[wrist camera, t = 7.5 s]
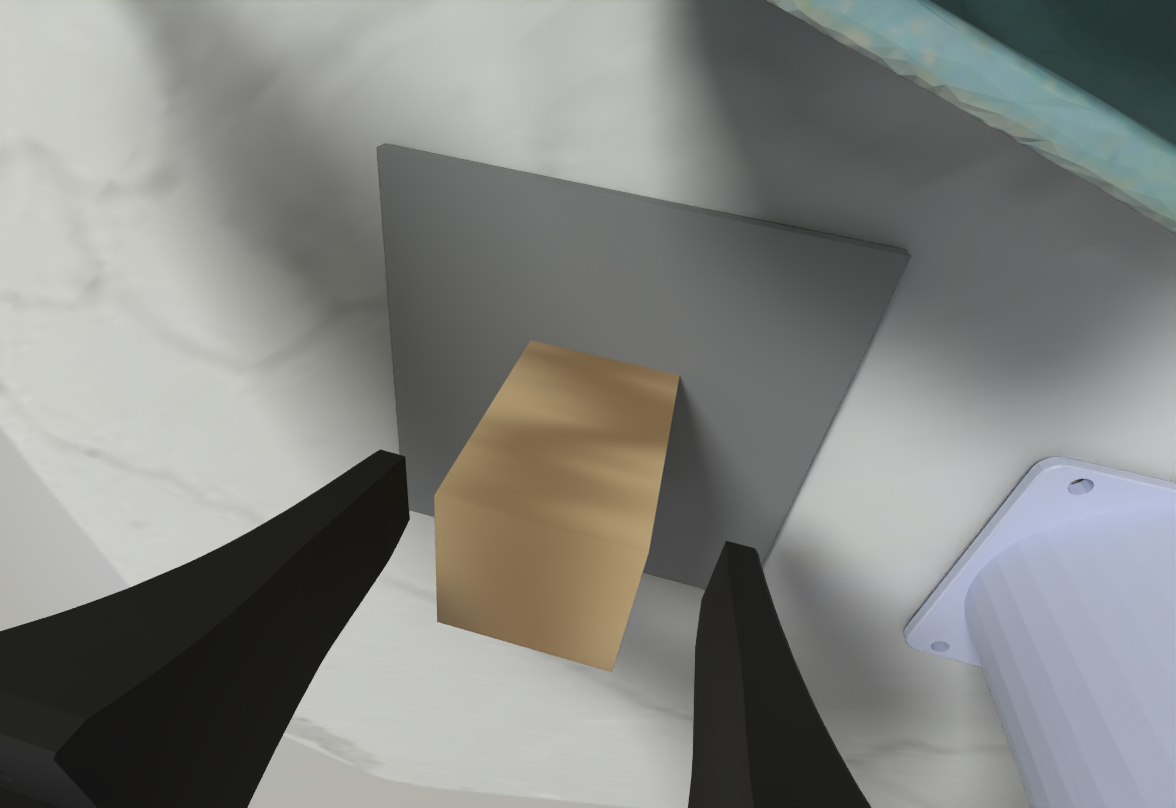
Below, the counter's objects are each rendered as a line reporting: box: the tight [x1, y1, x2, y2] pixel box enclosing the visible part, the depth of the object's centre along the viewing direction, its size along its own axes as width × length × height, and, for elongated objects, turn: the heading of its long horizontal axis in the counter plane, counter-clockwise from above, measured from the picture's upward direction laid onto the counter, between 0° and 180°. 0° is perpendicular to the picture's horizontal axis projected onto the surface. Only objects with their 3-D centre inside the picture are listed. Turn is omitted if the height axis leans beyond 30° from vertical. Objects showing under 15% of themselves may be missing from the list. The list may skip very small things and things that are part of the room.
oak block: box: [434, 340, 680, 672], centre depth 14 cm, size 4×4×6 cm
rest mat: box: [377, 144, 911, 589], centre depth 17 cm, size 12×12×1 cm
